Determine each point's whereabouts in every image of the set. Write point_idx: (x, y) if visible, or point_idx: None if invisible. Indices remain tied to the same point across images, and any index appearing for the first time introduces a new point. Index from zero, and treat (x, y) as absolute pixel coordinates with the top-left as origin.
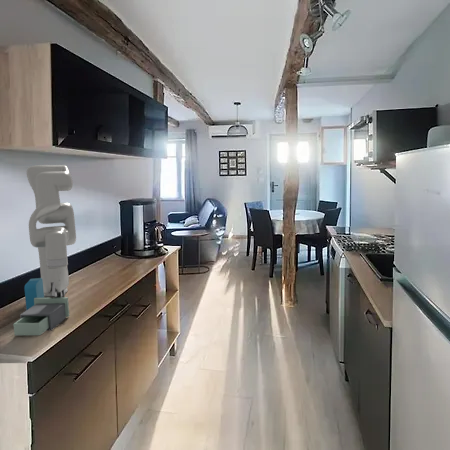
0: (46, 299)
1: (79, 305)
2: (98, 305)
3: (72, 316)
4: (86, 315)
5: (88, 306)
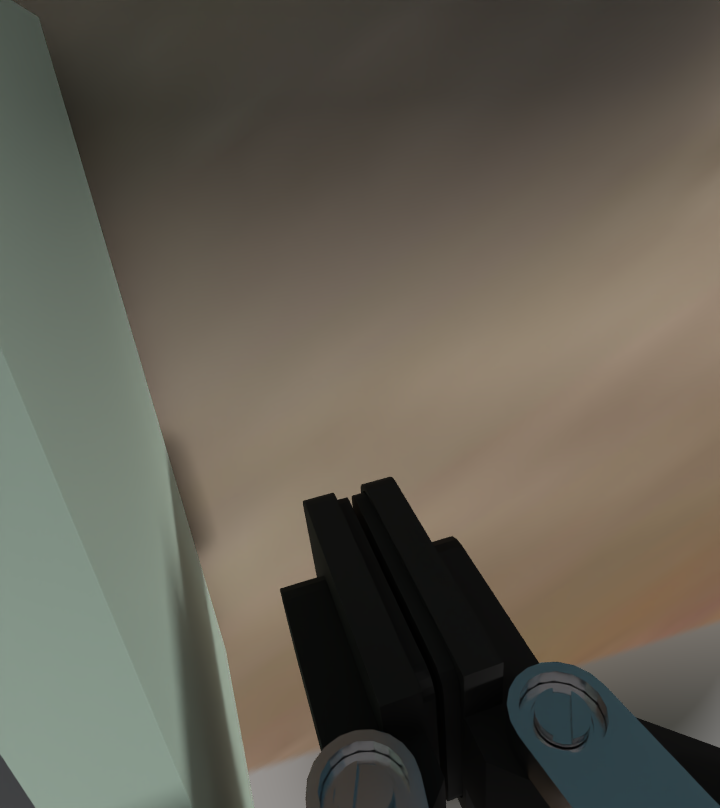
0: (25, 720)
1: (682, 442)
2: (634, 638)
3: (257, 645)
4: (315, 749)
5: (622, 568)
